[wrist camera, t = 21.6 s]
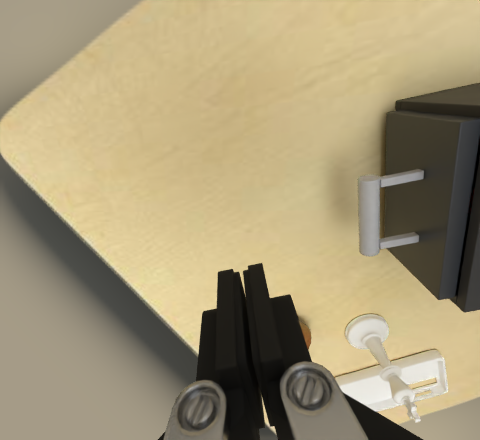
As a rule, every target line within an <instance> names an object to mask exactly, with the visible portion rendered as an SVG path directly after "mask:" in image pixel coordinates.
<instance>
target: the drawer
mask: <svg viewBox="0 0 480 440" xmlns="http://www.w3.org/2000/svg"><path fill="white" fill-rule="evenodd" d="M479 139H480V118H478V117H468V116H458V115H449V114H439V113H430V112H420V111H410V110H396V111H392V112H387V116H386V173H385V176H382V177H379V176H377V175H363V176H360V177H359V178H358V217H359V251H360V253H361V254H362V255H365V256H375V255H377V254H378V253H379V248H380V249H385V248H387V249H388V250H389V251H390V252H391V253H392V254H393V255H394V256H395V257H396V258H397V259H398V260H399V261H400V262H401V263H402V264H403V265H404V266H405V267H406V268H407V269H408V270H409V271H410V272H411V273H412V274H413V275H414V276H415V277H416V278H417V279H418V280H419V281H420V282H421V283H422V284H423V285H424V286H425V287H426V288H427V289H428V290H429V291H430V292H431V293H432V294H433V295H434V296H435V297H436V298H437V299H438V300H442V299H448V298H453V297H455V294H456V287H457V281H458V274H459V273H460V274H461V271H462V265H463V258H464V252H465V246H466V240H467V233H468V227H469V221H470V215H471V214H469V213H468V210H469V204H470V197H471V193H472V192H473V190H474V188H475V183H476V177H477V171H478V164H479V158H480V145H479ZM380 187H385V231H384V238H381V239H379V236H380Z"/></svg>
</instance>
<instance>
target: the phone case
mask: <svg viewBox="0 0 480 440" xmlns="http://www.w3.org/2000/svg"><path fill="white" fill-rule="evenodd" d="M390 363H391V365H396V366H398V367H400V368H401V371H402V375H401V377H400V379H402V380H403V381H404V382H405V383H406V384H407V385H410V384H413V383H417V382H420V381H424V380H428V379H431V378H436V383H433V384H429V385H426V386H422V387H418V388H415V389H412V390H413V391H414V392H415V394H418V393H422V392H426V391H429V390H430V391H431V392H432V393H429V394H426V395H422V396H418V397H415V398H414V400H413V401H412V402H416V401H420V400H423V399H427V398H431V397H435V396H438V395H442V394H444V393H446V392H447V391H448V385H447V376H446V367H445V359H444V358H443V356H442V355H441V354H440V353H439V351H438V350H429V351H426V352H422V353H419V354H415V355H412V356H408V357H405V358H401V359H398V360H394V361H391V362H390ZM381 370H382V367H381V366H380V365H377V366H373V367H370V368H366V369H363V370H359V371H356V372H352V373H349V374H345V375H342V376H338V377H335V380H336V381H337V383H338V385H339V387H340V389H341V391H342V392H343V393H345V394H347V395H348V396H350V397H352V398H353V399H355V400H357V401H359V402H360V403H362V404H364V405H365V406H367V407H369V408H370V409H372V410H374V411H375V412H378V411H382V410H386V409H390V408H393V407H397V406H401V405H405V404H397V403H395V402H394V400H393V398H392V393H391V388H390V383H389V382H386V381H384V380H382V378H381V377H380V371H381Z"/></svg>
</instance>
